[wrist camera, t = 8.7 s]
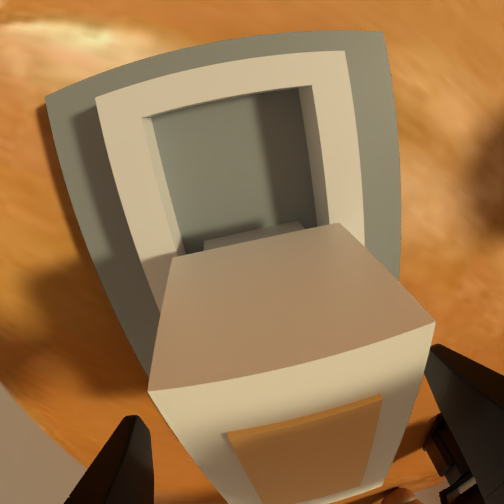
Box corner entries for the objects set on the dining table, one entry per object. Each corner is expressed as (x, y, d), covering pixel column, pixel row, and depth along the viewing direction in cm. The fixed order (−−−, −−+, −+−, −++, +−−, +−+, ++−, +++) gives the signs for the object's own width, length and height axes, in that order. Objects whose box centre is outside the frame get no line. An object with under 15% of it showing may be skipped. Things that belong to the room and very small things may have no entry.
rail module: (318, 203, 11) (440, 326, 5) (329, 363, 15) (382, 489, 8) (178, 232, 11) (146, 398, 4) (227, 386, 14) (243, 523, 8)
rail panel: (370, 36, 10) (404, 24, 7) (375, 397, 18) (390, 425, 16) (56, 96, 9) (23, 96, 7) (194, 439, 18) (195, 470, 16)
